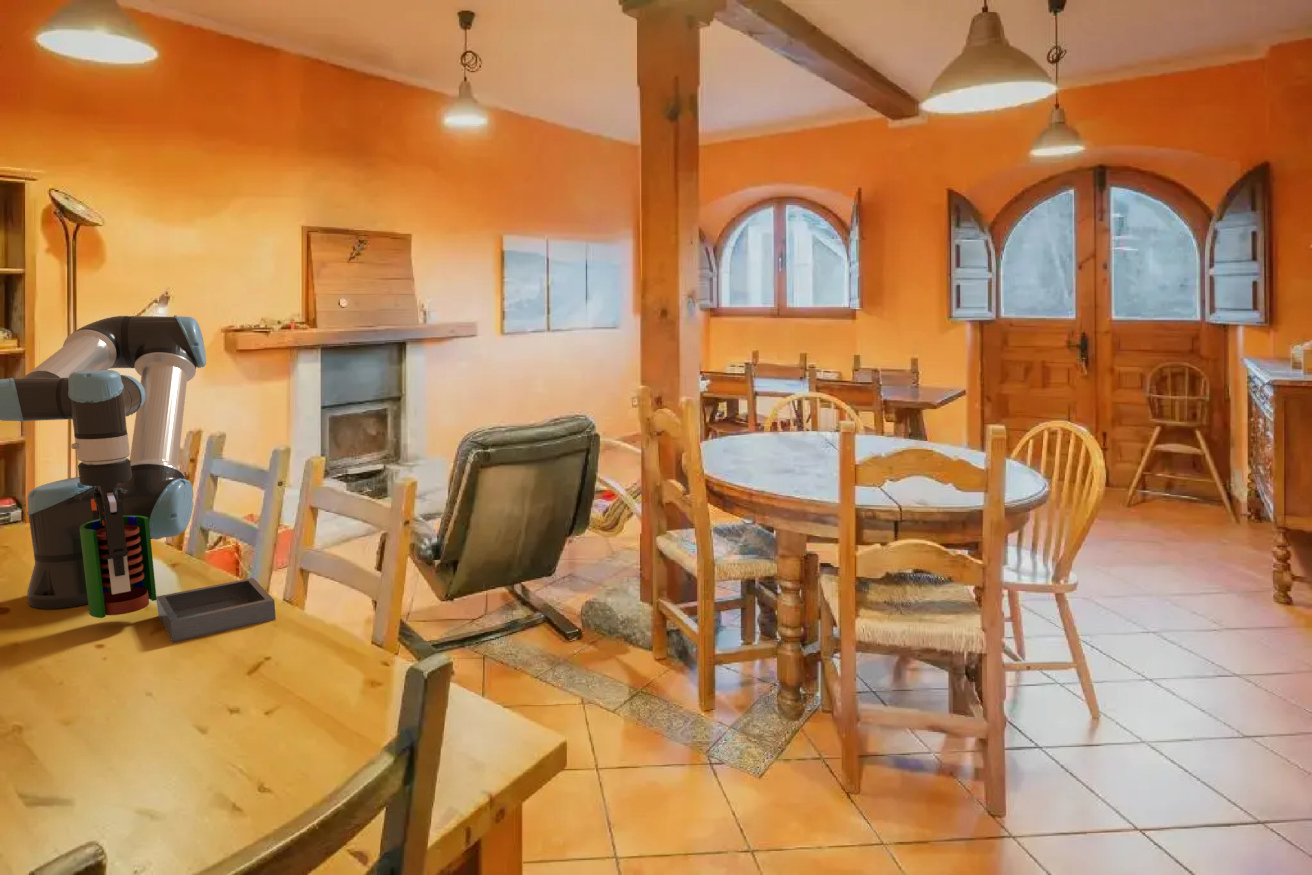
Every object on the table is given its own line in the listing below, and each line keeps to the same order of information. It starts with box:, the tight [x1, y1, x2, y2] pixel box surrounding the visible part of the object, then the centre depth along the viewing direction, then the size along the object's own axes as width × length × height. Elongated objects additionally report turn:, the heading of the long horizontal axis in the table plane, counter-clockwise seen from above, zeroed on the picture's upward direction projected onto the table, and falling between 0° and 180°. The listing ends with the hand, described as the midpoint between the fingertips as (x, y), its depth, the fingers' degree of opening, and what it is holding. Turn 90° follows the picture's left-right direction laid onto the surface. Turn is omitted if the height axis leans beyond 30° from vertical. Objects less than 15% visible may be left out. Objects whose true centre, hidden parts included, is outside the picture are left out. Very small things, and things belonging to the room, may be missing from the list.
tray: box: [156, 577, 277, 644], centre depth 146 cm, size 15×16×4 cm
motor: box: [80, 499, 157, 619], centre depth 140 cm, size 10×9×20 cm
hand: (118, 585), depth 141 cm, fingers closed on motor, 7 cm apart
